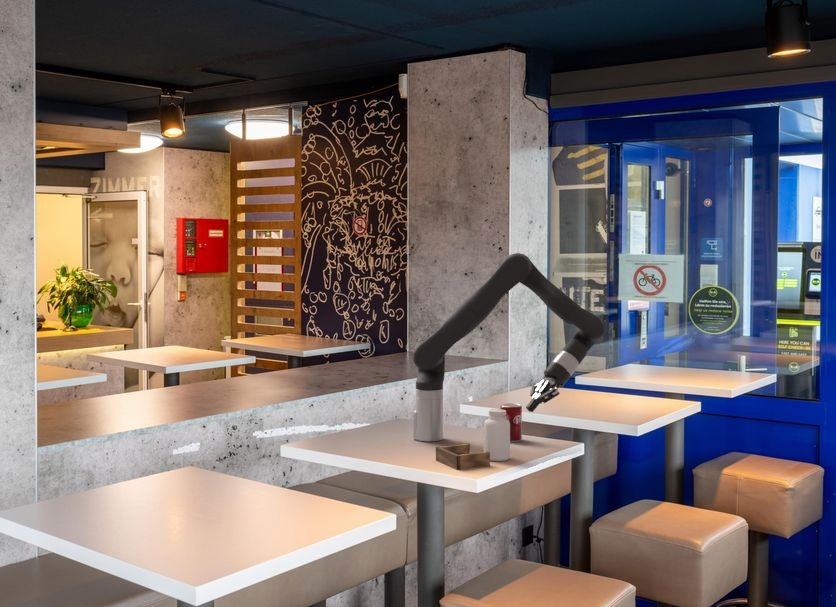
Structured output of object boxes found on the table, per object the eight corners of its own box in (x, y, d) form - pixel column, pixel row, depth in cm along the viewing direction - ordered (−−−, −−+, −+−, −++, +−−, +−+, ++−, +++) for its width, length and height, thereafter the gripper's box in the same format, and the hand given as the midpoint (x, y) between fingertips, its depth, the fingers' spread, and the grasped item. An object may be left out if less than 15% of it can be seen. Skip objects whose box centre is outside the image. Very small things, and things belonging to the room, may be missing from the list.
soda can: (521, 438, 310) (521, 403, 309) (521, 442, 303) (522, 407, 302) (500, 438, 311) (500, 403, 310) (499, 442, 303) (500, 406, 303)
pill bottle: (512, 456, 283) (512, 408, 282) (506, 462, 275) (506, 413, 274) (487, 455, 285) (487, 407, 284) (481, 460, 278) (481, 411, 277)
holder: (467, 456, 283) (467, 443, 283) (489, 465, 271) (489, 452, 271) (435, 460, 278) (435, 447, 278) (456, 469, 266) (456, 456, 266)
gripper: (542, 358, 294) (510, 399, 289) (566, 363, 282) (533, 405, 277) (556, 373, 296) (524, 414, 292) (580, 379, 284) (547, 421, 280)
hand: (528, 410), depth 284 cm, fingers closed
